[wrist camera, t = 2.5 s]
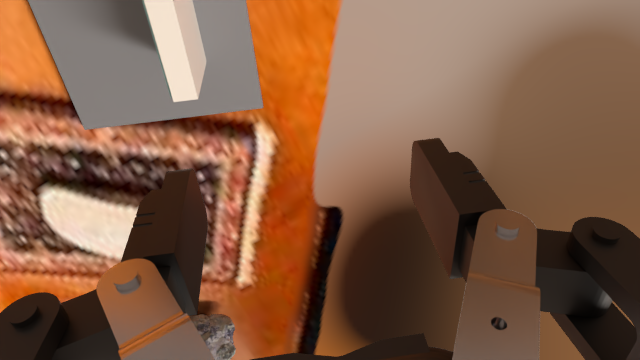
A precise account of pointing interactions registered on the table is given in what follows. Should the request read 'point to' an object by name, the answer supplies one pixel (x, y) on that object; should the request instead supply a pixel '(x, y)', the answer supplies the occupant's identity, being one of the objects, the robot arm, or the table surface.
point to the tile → (177, 46)
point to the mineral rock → (216, 334)
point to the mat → (145, 60)
